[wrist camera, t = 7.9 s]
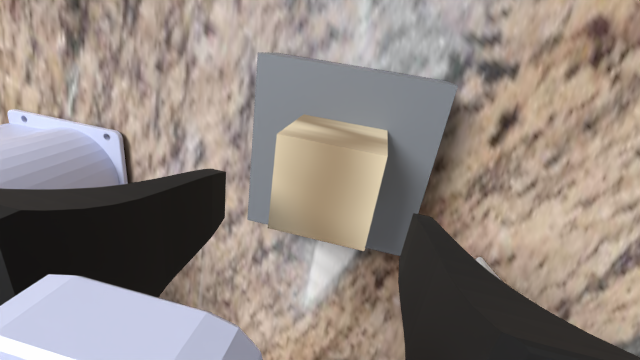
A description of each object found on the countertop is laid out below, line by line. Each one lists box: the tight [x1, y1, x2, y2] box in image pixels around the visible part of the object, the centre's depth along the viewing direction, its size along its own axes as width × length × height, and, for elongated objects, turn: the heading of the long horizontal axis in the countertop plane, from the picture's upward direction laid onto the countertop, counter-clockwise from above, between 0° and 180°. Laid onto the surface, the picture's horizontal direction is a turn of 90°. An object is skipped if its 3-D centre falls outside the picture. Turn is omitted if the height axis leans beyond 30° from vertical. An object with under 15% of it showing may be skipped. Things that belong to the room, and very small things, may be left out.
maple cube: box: [268, 115, 388, 251], centre depth 15 cm, size 4×4×4 cm
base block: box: [248, 53, 458, 256], centre depth 19 cm, size 10×10×3 cm
